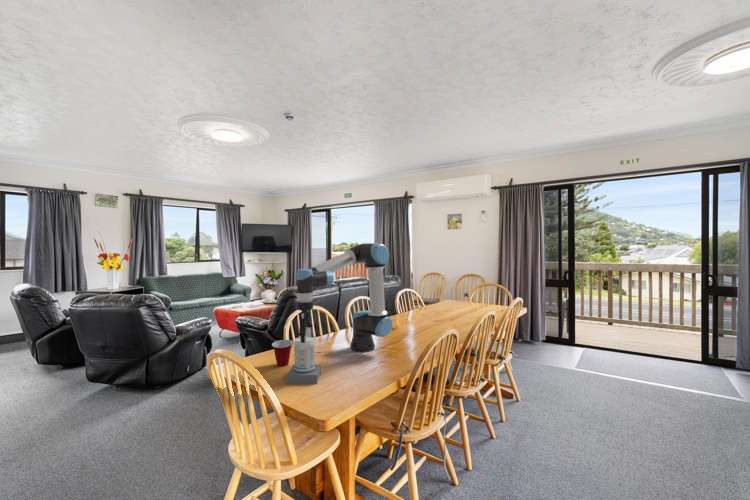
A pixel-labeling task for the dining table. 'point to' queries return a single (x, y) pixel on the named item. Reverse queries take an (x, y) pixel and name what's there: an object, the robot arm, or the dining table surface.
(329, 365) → the dining table surface
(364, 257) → the robot arm
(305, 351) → the supplement tub
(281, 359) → the plastic cup
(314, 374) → the plinth
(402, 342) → the dining table surface
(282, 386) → the dining table surface
